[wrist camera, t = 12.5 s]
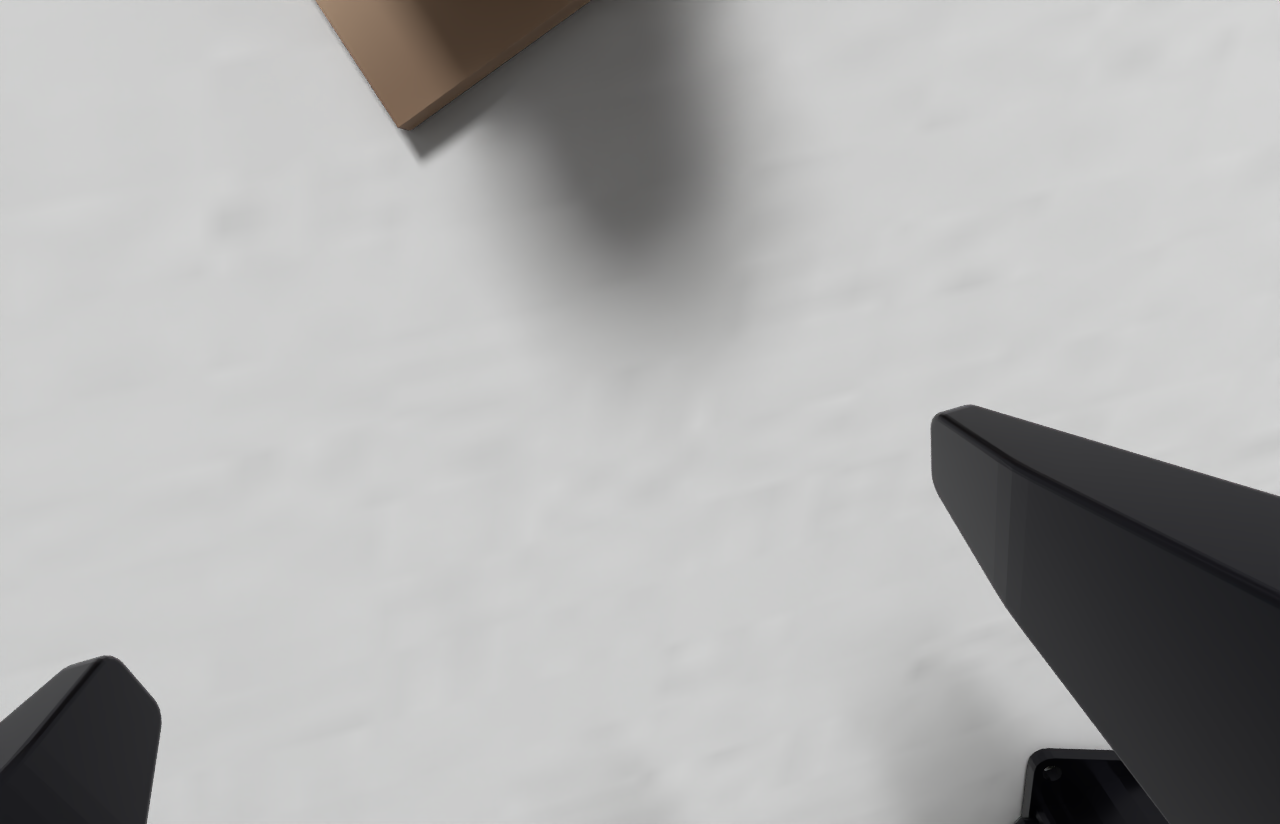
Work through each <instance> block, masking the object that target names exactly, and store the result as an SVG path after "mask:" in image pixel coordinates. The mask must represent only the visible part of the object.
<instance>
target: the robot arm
mask: <svg viewBox="0 0 1280 824" xmlns="http://www.w3.org/2000/svg"><path fill="white" fill-rule="evenodd" d="M931 469H932V479H933V483H934V486H935V489H936V491H937V494H938V495H939V497H940V499H941V501H942V502H943V504H944V506H945V507H946V509H947V511H948V512H949V514H950V516H951V517H952V519H953V521H954V522H955V524H956V526H957V528H958V529H959V531H960V533H961V534H962V536H963V538H964V539H965V541H966V543H967V544H968V546H969V548H970V549H971V551H972V553H973V554H974V556H975V558H976V559H977V561H978V563H979V565H980V566H981V568H982V570H983V571H984V573H985V575H986V576H987V578H988V580H989V581H990V583H991V585H992V586H993V588H994V590H995V591H996V593H997V594H998V596H999V598H1000V599H1001V601H1002V602H1003V604H1004V605H1005V607H1006V608H1007V610H1008V611H1009V613H1010V614H1011V615H1012V617H1013V618H1014V619H1015V621H1016V622H1017V624H1018V625H1019V626H1020V628H1021V629H1022V630H1023V632H1024V633H1025V634H1026V636H1027V637H1028V638H1029V640H1030V641H1031V642H1032V644H1033V645H1034V646H1035V647H1036V649H1037V650H1038V651H1039V653H1040V654H1041V655H1042V657H1043V658H1044V659H1045V661H1046V662H1047V663H1048V665H1049V666H1050V667H1051V669H1052V670H1053V671H1054V672H1055V674H1056V675H1057V676H1058V678H1059V679H1060V680H1061V682H1062V683H1063V684H1064V686H1065V687H1066V688H1067V690H1068V691H1069V692H1070V694H1071V695H1072V696H1073V698H1074V699H1075V700H1076V701H1077V703H1078V704H1079V705H1080V707H1081V708H1082V709H1083V711H1084V712H1085V713H1086V715H1087V716H1088V717H1089V719H1090V720H1091V721H1092V723H1093V724H1094V725H1095V726H1096V728H1097V729H1098V730H1099V732H1100V733H1101V734H1102V736H1103V737H1104V738H1105V740H1106V741H1107V742H1108V744H1109V745H1110V746H1111V748H1112V749H1113V750H1086V749H1054V748H1047V749H1041V750H1039V751H1036V752H1035V753H1034V754H1033V755H1032V756H1031V757H1030V759H1029V762H1028V768H1027V777H1026V785H1025V793H1024V802H1023V810H1022V817H1019V818H1018V820H1017V821H1016V822H1015V824H1280V496H1277V495H1273V494H1270V493H1267V492H1263V491H1260V490H1257V489H1253V488H1250V487H1247V486H1243V485H1240V484H1237V483H1233V482H1230V481H1227V480H1223V479H1220V478H1216V477H1213V476H1210V475H1206V474H1203V473H1200V472H1196V471H1193V470H1190V469H1186V468H1183V467H1180V466H1176V465H1173V464H1170V463H1166V462H1163V461H1160V460H1156V459H1153V458H1150V457H1146V456H1143V455H1140V454H1136V453H1133V452H1130V451H1126V450H1123V449H1119V448H1116V447H1113V446H1109V445H1106V444H1103V443H1099V442H1096V441H1093V440H1089V439H1086V438H1083V437H1079V436H1076V435H1073V434H1069V433H1066V432H1063V431H1059V430H1056V429H1053V428H1049V427H1046V426H1043V425H1039V424H1036V423H1032V422H1029V421H1026V420H1022V419H1019V418H1016V417H1012V416H1009V415H1006V414H1002V413H999V412H996V411H992V410H989V409H986V408H982V407H979V406H975V405H964V406H960V407H957V408H953V409H950V410H946V411H943V412H940V413H937V414H936V415H935V416H934V417H933V419H932V422H931ZM161 723H162V722H161V713H160V709H159V707H158V704H157V702H156V701H155V700H154V698H153V697H152V696H151V695H150V694H149V692H148V691H147V690H146V689H145V688H144V687H143V686H142V684H141V683H140V682H139V681H138V680H137V679H136V677H135V676H134V675H133V674H132V673H131V672H130V670H129V669H128V668H127V667H126V666H125V665H124V664H123V662H121V661H120V660H119V659H117V658H115V657H113V656H100V657H96V658H93V659H89V660H86V661H83V662H79V663H76V664H73V665H70V666H68V667H66V668H64V669H63V670H62V671H60V672H59V673H58V674H57V675H55V676H54V677H53V678H52V679H51V680H50V681H48V682H47V683H46V684H45V685H44V686H43V687H41V688H40V689H39V690H38V691H37V692H35V693H34V694H33V695H32V696H31V697H30V698H28V699H27V700H26V701H25V702H24V703H23V704H21V705H20V706H19V707H18V708H17V709H15V710H14V711H13V712H12V713H11V714H10V715H8V716H7V717H6V718H5V719H4V720H3V721H1V722H0V824H147V818H148V811H149V805H150V798H151V792H152V785H153V778H154V772H155V765H156V759H157V752H158V745H159V739H160V732H161ZM1053 765H1054V766H1055V767H1054V768H1052V769H1051V770H1047V771H1044V769H1045V768H1047V767H1048V766H1053Z"/></svg>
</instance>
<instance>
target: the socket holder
mask: <svg viewBox="0 0 1280 824" xmlns="http://www.w3.org/2000/svg"><path fill="white" fill-rule="evenodd" d="M590 1H591V0H316V2H317V4H318V5H319V7H320V8H321V10H322V11H323V13H324V14H325V16H326V17H327V19H328V20H329V22H330V24H331V25H332V27H333V28H334V30H335V31H336V33H337V34H338V36H339V37H340V39H341V41H342V42H343V44H344V45H345V47H346V48H347V50H348V51H349V53H350V54H351V56H352V58H353V59H354V61H355V62H356V64H357V65H358V67H359V68H360V70H361V71H362V73H363V74H364V76H365V78H366V79H367V81H368V82H369V84H370V85H371V87H372V88H373V90H374V91H375V93H376V95H377V96H378V98H379V99H380V101H381V102H382V104H383V105H384V107H385V108H386V110H387V112H388V113H389V115H390V116H391V118H392V119H393V121H394V122H395V124H396V125H397V127H398V128H401V129H405V130H410V131H411V130H412V129H414V128H415V127H416V126H418V125H419V124H421V123H422V122H423V121H425V120H426V119H427V118H429V117H430V116H432V115H433V114H434V113H436V112H437V111H439V110H440V109H441V108H443V107H444V106H446V105H447V104H448V103H450V102H451V101H452V100H454V99H455V98H457V97H458V96H459V95H461V94H462V93H464V92H465V91H466V90H468V89H469V88H470V87H472V86H473V85H475V84H476V83H477V82H479V81H480V80H482V79H483V78H484V77H486V76H487V75H488V74H490V73H491V72H493V71H494V70H495V69H497V68H498V67H500V66H501V65H502V64H504V63H505V62H506V61H508V60H509V59H511V58H512V57H513V56H515V55H516V54H518V53H519V52H520V51H522V50H523V49H524V48H526V47H527V46H529V45H530V44H531V43H533V42H534V41H536V40H537V39H538V38H540V37H541V36H542V35H544V34H545V33H547V32H548V31H549V30H551V29H552V28H554V27H555V26H556V25H558V24H559V23H560V22H562V21H563V20H565V19H566V18H567V17H569V16H570V15H572V14H573V13H574V12H576V11H577V10H578V9H580V8H581V7H583V6H584V5H585V4H587V3H588V2H590Z"/></svg>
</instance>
